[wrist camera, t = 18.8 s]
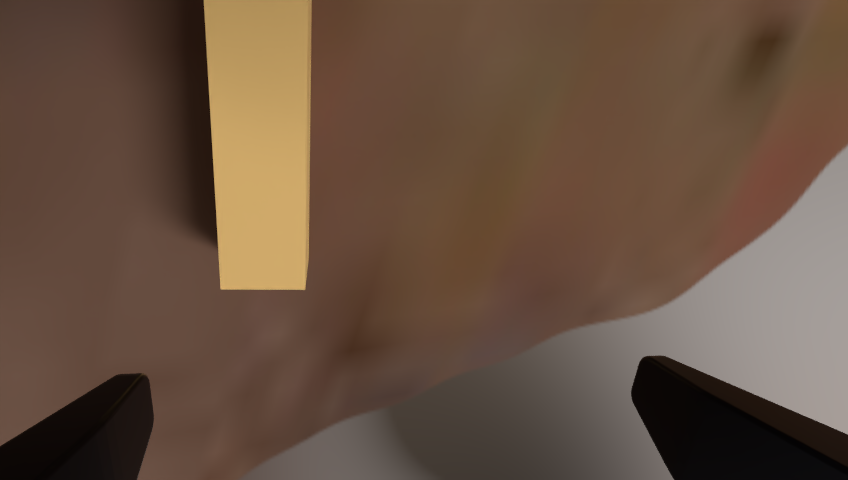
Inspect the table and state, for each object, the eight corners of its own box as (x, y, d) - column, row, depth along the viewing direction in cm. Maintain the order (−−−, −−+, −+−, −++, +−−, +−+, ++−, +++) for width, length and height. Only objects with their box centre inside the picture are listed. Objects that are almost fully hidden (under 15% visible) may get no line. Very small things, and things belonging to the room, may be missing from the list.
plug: (337, -195, 15) (340, -289, 11) (325, 259, 21) (324, 308, 17) (188, -226, 14) (129, -343, 10) (216, 257, 20) (187, 309, 16)
